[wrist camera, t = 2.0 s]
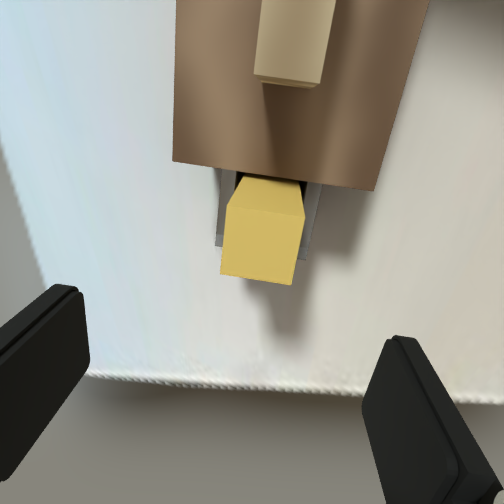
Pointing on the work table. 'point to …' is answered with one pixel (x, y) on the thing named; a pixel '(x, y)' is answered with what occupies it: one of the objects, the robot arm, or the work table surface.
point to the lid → (291, 90)
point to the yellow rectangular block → (263, 229)
